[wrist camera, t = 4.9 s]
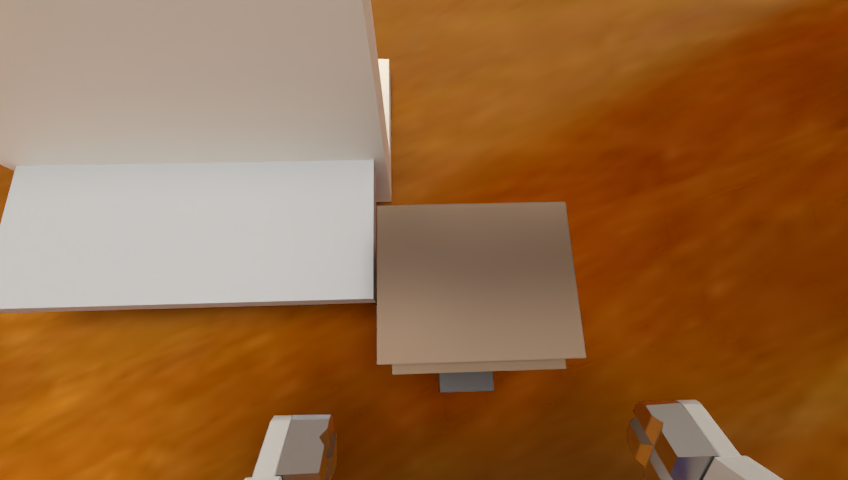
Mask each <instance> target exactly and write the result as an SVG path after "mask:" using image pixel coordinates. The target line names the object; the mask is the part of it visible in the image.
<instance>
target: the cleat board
mask: <svg viewBox="0 0 848 480" xmlns="http://www.w3.org/2000/svg"><path fill="white" fill-rule="evenodd" d="M0 165H2V166H5V167H7V168H9V169H11V170H13V171H15V172H14V175H13V179H12V183H11V187H10V190H9V194H8V198H7V202H6V205H5V209H4V213H3V216H2V220H1V224H0V312H3V313H27V312H63V311H99V310H134V309H170V308H206V307H241V306H277V305H313V304H348V303H376V202H392V189H391V87H390V67H389V59H378V56H377V48H376V40H375V32H374V23H373V15H372V7H371V0H0Z"/></svg>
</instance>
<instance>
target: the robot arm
mask: <svg viewBox="0 0 848 480" xmlns="http://www.w3.org/2000/svg"><path fill="white" fill-rule="evenodd" d="M633 412H634V413H635V415H636V417H635V418H634V419H632V420H631V421H630V422H629V424H628V428H627V440H628V444H629V447H630V450H631V452H632V454H633V456H634V458H635V459H636V460H637V461H638V462H639V463H641V464H642V465H643V466H644V467H645V470H644V478H645V479H646V480H784V479H782V478H780V477H779V476H777V475H776V474H774V473H773V472H771V471H770V470H768V469H767V468H765V467H764V466H762V465H761V464H759V463H757V462H756V461H754V460H753V459H751V458H750V457H748V456H741V455H740V454H739V452H738V451H737V450H736V448H735V447H734V446H733V444H732V443H731V442H730V440H729V439H728V438H727V437H726V435H725V434H724V433H723V431H722V430H721V429H720V427H719V426H718V425H717V424H716V422H715V421H714V420H713V418H712V417H711V416H710V414H709V413H708V412H707V411H706V409H705V408H704V407H703V405H702V404H701V403H700V402H698V401H697V400H662V401H643V402H638V403H637V404H636V405H635V407H634V410H633ZM333 428H334V418H333V415H277V416H274V417H273V418H272V420H271V421H270V423H269V426H268V429H267V432H266V435H265V438H264V442H263V445H262V448H261V451H260V454H259V457H258V460H257V463H256V466H255V469H254V472H253V475H252V477H246V478H245V479H244V480H331V477H332V476H333V474H334V473H335V471H336V464H337V451H338V446H337V435H336V433H334V432H333Z"/></svg>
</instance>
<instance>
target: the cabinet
mask: <svg viewBox="0 0 848 480" xmlns="http://www.w3.org/2000/svg"><path fill="white" fill-rule="evenodd" d="M567 358H586V352H585V345H584V337H583V330H582V322H581V315H580V308H579V300H578V293H577V285H576V278H575V270H574V263H573V256H572V248H571V241H570V233H569V226H568V218H567V211H566V204H565V202H529V203H481V204H432V205H384V206H377V365H382V364H392V375H395V374H425V373H438V379H439V391H440V392H469V391H494V385H493V372H492V371H516V370H546V369H566V361H565V359H567Z"/></svg>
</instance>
